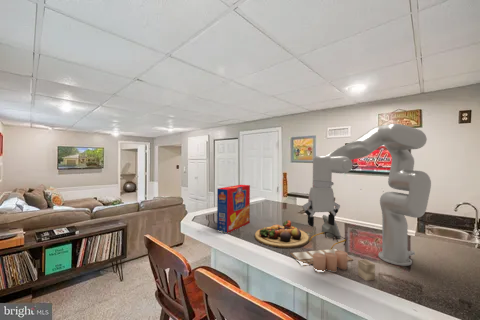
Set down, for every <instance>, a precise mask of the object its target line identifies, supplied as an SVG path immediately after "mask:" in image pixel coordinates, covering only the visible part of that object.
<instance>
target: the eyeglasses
mask: <svg viewBox="0 0 480 320" xmlns="http://www.w3.org/2000/svg"><path fill="white" fill-rule="evenodd" d="M324 233H325V234H324ZM326 233H329V232H322V231H321V232H320V233H319V232H318V233H316V234H314V235H312V236H311V238H309V242H311V240H312V238H314V237H315V236H319V235H323V234H324V237H325V238H327V236H326ZM330 234H332V233H330ZM332 235H334V234H332ZM337 237H341V238H342V240H340V241H338V238H337ZM334 240H336V243H334V244H333V245H332V246H331V247H330V249H334V247H335V245H337V244H340V243H343V244H342V245H344V246H345V245H346V242H347V238H345V237H344V236H342V235H341V236H335V235H334V237H332V241H334Z"/></svg>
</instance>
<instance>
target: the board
mask: <svg viewBox="0 0 480 320" xmlns="http://www.w3.org/2000/svg"><path fill="white" fill-rule="evenodd" d="M337 250H338V249H337V248H332V249H331V248H330V249H319V250H309V251H308V250H307V251H298V252H297V251H296V252H289V255H290V254H291V255H292V256H293V257H294V258H296V259H298V260H300V261H302V262H303V263H308V264H313V254H314V253H321V254H324V253H327V252H330V253H334V254H335V251H337ZM291 255H290V256H291ZM292 256H291V257H292ZM293 257H292V258H293ZM294 258H293V259H294ZM350 261H351V262H352V261H354V258H352V257H350V256H348V262H350Z"/></svg>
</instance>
